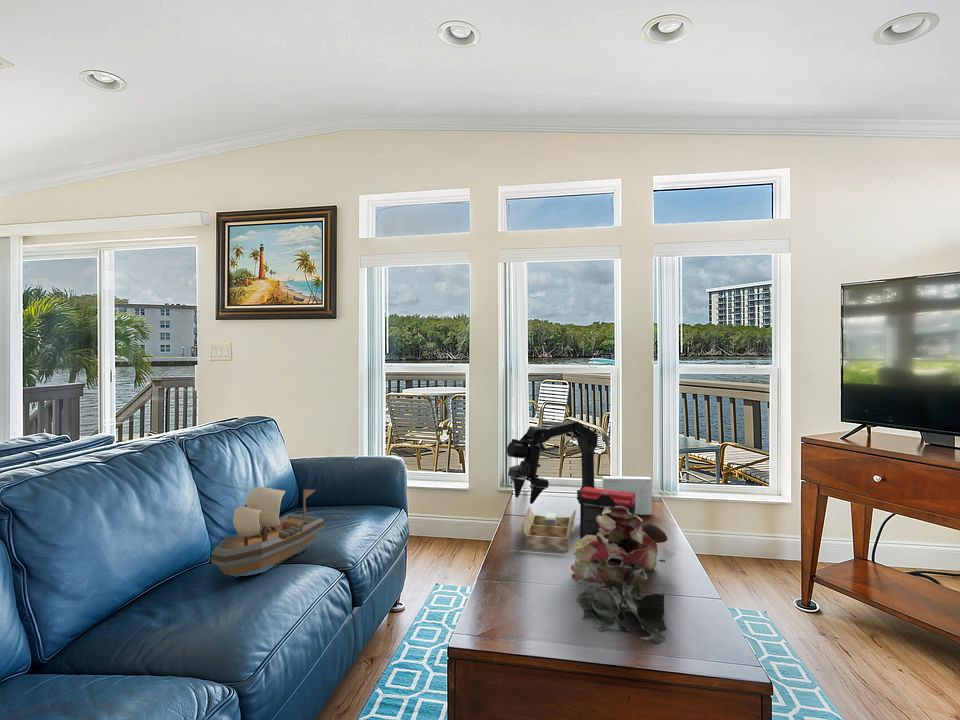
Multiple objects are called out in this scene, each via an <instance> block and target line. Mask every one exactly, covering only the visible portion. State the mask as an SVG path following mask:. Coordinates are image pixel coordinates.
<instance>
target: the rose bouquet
mask: <svg viewBox="0 0 960 720" xmlns="http://www.w3.org/2000/svg"><path fill="white" fill-rule="evenodd" d="M596 520H597V523H598V525H599V527H600V528H599V530H598V533H597V534H596V536H595V535H594V536H593V535H586V536H585V537H583V538H582V539H580V538H579V540H578V541H576V542H575V543H574V547H573V549H575V550H573V551H574V553H573V555H574V558H575V560H574V564H572V565H571V566H570V569H571V571H572V572H573V573H574V574H573V573H572V574H571V580H572V581H574V582H576V583H579V584H584V585H586V586H589V587H587V588H585V589H583V590H582V592H581V593H579V595H578V596H577V598H576V602H577V603H578V604H579V605H580V607H581V609H582V610H583V614H584V615H583V616H582V618H581V620H582V621H583V620H584V621H585V620H588V619H591V620H592V621H593V624H600V625H595V626H593V628H594V629H595V631H596V632H603V631H604V630H606V629H607V630H608V629H610V630H615V631H619V632H623V633H627V634H631V632H632V631H631V630H630V629H628V628H626V627H625V626H623V625H622V622H623V621H624V620H625V615H624V613H625V612H627V611H628V613H629V614H630V615H631V616H634V617H635V618H636V619H637V620H639V624H640V625H641V629H643V630H644V631H646V632H647V633H648V634H650V636H645V637H639V639H641V640H646V641H649V642H653V643H657V644H659V645H660V644H662V643H663V642H664V641H666V635H663V634H662V632H667V630H668V629H667V626H666V624H665V620H664V619H663V616H664V614H665V595H666V594H665V593H664V592H660V593H659V592H655V593H649V594H645V595H642V596H641V588H640V586H639V583H640V581H639V580H640V579H643V580H648V576H649V574H647V573H652V572H653V573H654V572H656V570H655V569H651V568H653V564H654V563H655V562H656V563H657V556H658V554H660V553H659V549H658V543H656V542H655V541H652V540H651V538H650V537H649V536H648V535H647V534H646V533H645V532H644V531H643V530H642V529H643V528H642V527H641V526H642V523H643V522H644V520H643V519H642V518H641V517H639V516H638V515H633V514H631V513H630V512H629V509H628V508H627V507H623V506H615V507H610V506H608V507H607V508H606V509H605V510H603V512H602V514H601V515H599V516H597V518H596ZM658 561H659V562H662V563H666V560H664V559H658ZM630 572H632V573H634V574H636V575H637V576H639V577H640V578H638V579H637V580H636V581H635V582H634V583H632V579H631V577H630ZM670 592H671V594H672V592H673V590H671V591H670Z"/></svg>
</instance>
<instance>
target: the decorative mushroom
mask: <svg viewBox="0 0 960 720" xmlns="http://www.w3.org/2000/svg"><path fill="white" fill-rule="evenodd" d="M641 527H642V528H643V529H642V530H643V531H644V532H645V533H646V534H647V535H648V536H649V537H650V538H651V540H652V541H655V542H656V544H662V543H665V542H667V541H668V539H669V538H668V536H667V534H666V533H665V531H663V530H662V529H661V528H660V527H658V526H657V525H655V524H652V523H646V524H644V525H641ZM656 567H657V561H656V562H655V563H654V564H653V568H651V569H652V570H655V568H656Z"/></svg>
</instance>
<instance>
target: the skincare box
mask: <svg viewBox="0 0 960 720" xmlns="http://www.w3.org/2000/svg"><path fill="white" fill-rule="evenodd" d="M601 480H602V486H601V487H602V488H601V489H608V490H616V491H624V492H632V493H635V514H636V515H635V516H638V515H639V514H640V515H641V516H653V490H652V489H653V487H652V485H653V483H652V481H653V479H652V478H651V477H650V476H627V475H625V476H616V475H614V476H613V475H611V476H610V475H609V476H608V475H607V476H606V475H603V476H602V479H601Z"/></svg>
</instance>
